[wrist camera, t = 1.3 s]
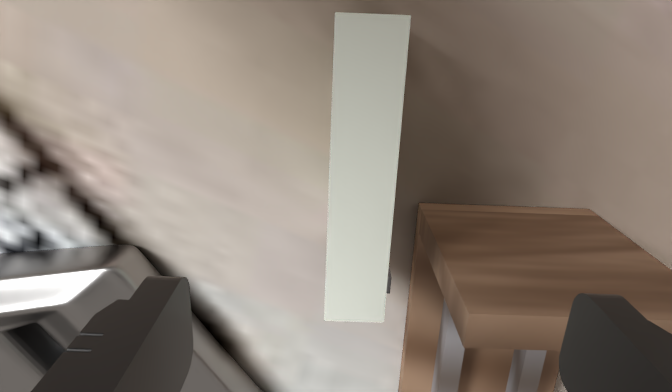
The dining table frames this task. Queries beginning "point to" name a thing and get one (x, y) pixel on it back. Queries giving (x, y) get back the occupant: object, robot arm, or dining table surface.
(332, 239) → the door panel
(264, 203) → the dining table surface
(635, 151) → the dining table surface
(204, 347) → the emblem
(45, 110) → the dining table surface
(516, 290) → the cabinet base
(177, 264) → the dining table surface
